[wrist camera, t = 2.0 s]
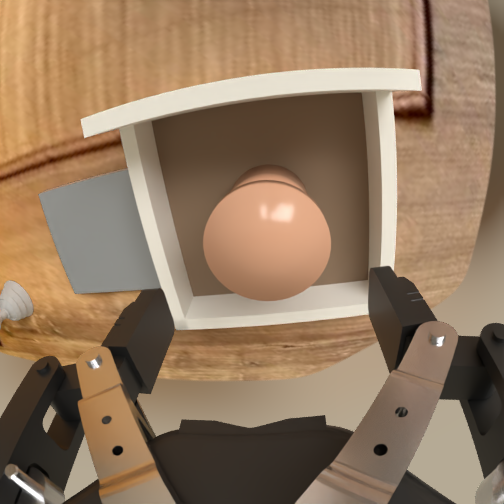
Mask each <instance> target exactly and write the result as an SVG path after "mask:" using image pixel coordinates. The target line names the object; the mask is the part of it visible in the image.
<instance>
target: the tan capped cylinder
mask: <svg viewBox="0 0 504 504" xmlns="http://www.w3.org/2000/svg"><path fill="white" fill-rule="evenodd" d="M203 249H204V255H205V258H206V261H207V264H208V266H209V268H210V270H211V271H212V273H213V274H214V276H215V277H216V278H217V279H218V281H220V282H221V283H222V284H223V285H224V286H225V287H226V288H228V289H229V290H231V291H232V292H234V293H236V294H238V295H240V296H243V297H245V298H249V299H253V300H258V301H277V300H283V299H287V298H290V297H293V296H295V295H297V294H299V293H301V292H303V291H305V290H306V289H307V288H309V287H310V286H311V285H312V284H313V283H315V282H316V280H317V279H318V278H319V277H320V276H321V274H322V273H323V271H324V269H325V267H326V265H327V263H328V260H329V257H330V251H331V236H330V231H329V228H328V225H327V222H326V220H325V217H324V215H323V213H322V211H321V209H320V208H319V206H318V205H317V203H316V202H315V201H314V200H313V199H312V198H311V197H310V196H309V195H308V193H307V190H306V188H305V186H304V184H303V182H302V181H301V180H300V178H299V177H298V176H297V175H296V174H294V173H293V172H292V171H290V170H289V169H287V168H284V167H281V166H278V165H270V164H267V165H259V166H256V167H253V168H251V169H249V170H247V171H246V172H244V173H243V174H242V175H241V176H240V177H239V178H238V179H237V180H236V182H235V183H234V185H233V187H232V190H231V191H230V192H229V193H227V194H226V195H225V196H224V197H223V198H222V199H221V200H220V201H219V202H218V204H217V205H216V207H215V208H214V210H213V212H212V213H211V215H210V217H209V219H208V222H207V224H206V227H205V231H204V236H203Z"/></svg>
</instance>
